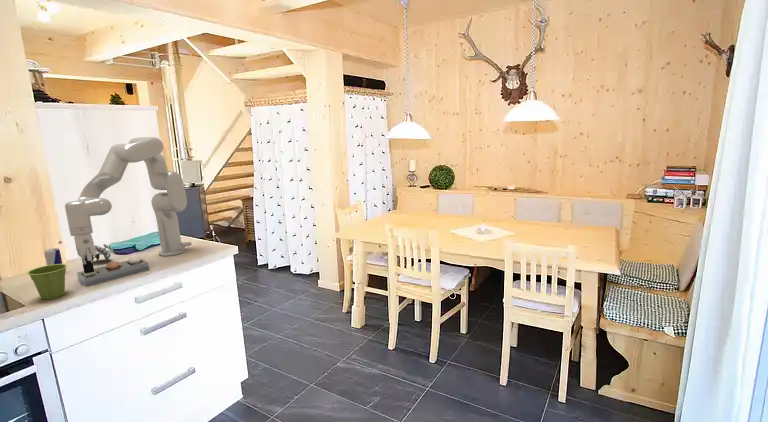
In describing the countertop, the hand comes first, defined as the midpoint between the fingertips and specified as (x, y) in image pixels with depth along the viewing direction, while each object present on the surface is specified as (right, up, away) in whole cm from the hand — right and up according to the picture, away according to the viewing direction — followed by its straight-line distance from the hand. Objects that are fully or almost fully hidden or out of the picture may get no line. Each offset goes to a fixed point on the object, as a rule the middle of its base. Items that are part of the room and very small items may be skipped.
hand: (89, 272), depth 168 cm
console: (+6, -2, +7) cm, 10 cm away
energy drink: (-22, -3, +10) cm, 25 cm away
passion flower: (-15, 0, +26) cm, 30 cm away
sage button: (0, -2, +1) cm, 2 cm away
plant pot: (-4, -7, -14) cm, 16 cm away
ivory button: (+11, +3, +13) cm, 17 cm away
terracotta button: (+6, +1, +7) cm, 9 cm away
